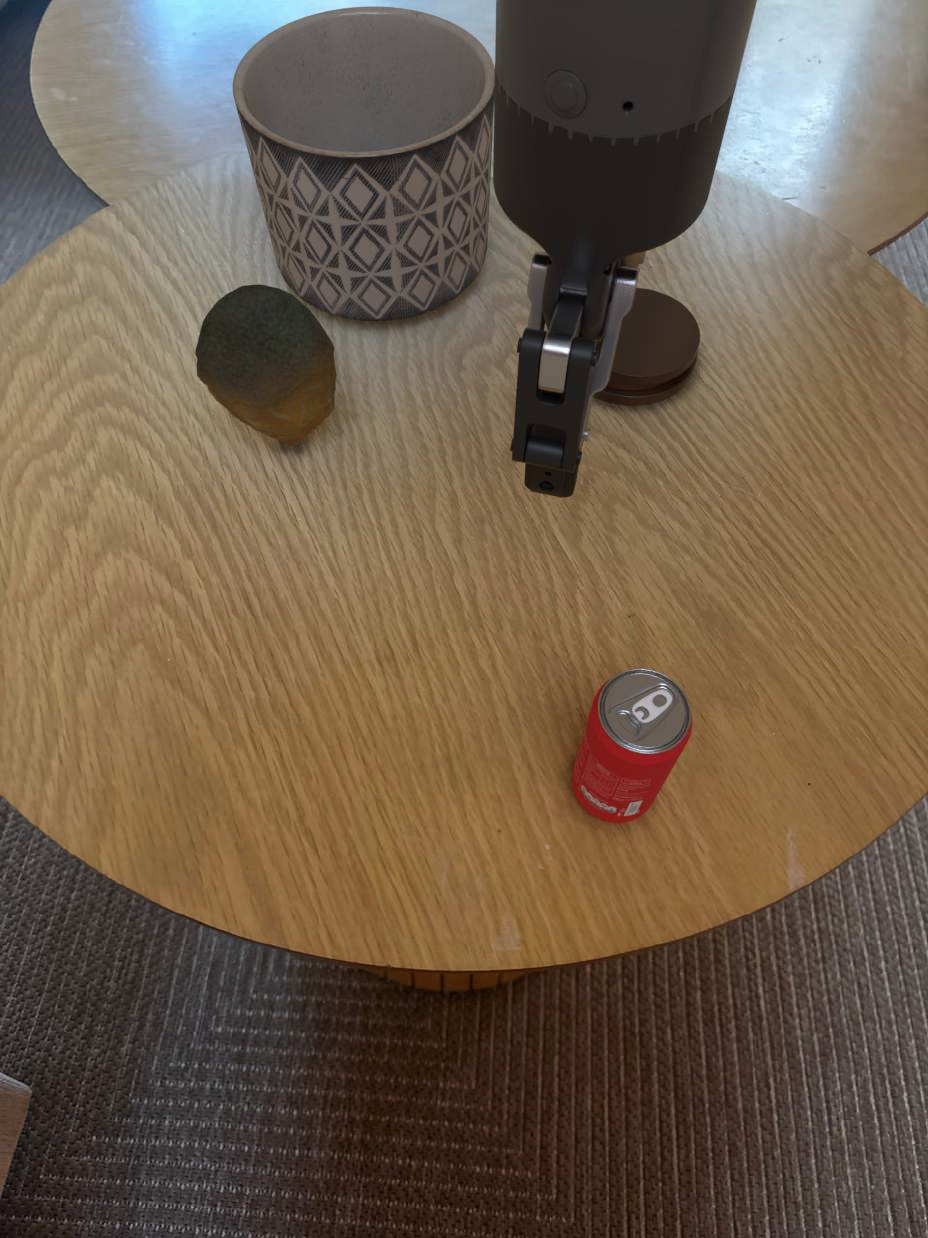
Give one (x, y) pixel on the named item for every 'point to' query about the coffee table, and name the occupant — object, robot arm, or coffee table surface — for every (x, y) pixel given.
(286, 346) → the decorative stone
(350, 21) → the planter
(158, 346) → the coffee table surface
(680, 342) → the disc pile
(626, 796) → the beverage can
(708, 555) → the coffee table surface
